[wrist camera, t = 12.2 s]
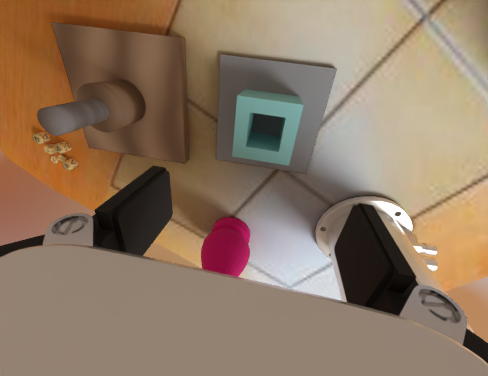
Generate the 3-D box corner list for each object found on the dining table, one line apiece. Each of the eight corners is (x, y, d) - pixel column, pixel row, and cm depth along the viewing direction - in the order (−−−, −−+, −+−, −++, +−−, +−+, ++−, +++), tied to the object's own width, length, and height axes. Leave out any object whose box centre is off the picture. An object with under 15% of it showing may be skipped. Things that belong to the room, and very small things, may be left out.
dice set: (43, 129, 32) (30, 132, 30) (75, 137, 32) (64, 141, 30) (53, 159, 35) (41, 164, 33) (82, 166, 34) (72, 172, 33)
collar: (299, 96, 23) (303, 104, 19) (287, 148, 26) (288, 165, 22) (245, 88, 23) (237, 95, 19) (240, 140, 27) (232, 156, 22)
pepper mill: (208, 213, 34) (135, 361, 18) (252, 215, 33) (220, 376, 16) (213, 245, 38) (158, 393, 21) (253, 248, 37) (229, 407, 20)
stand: (185, 38, 22) (112, 23, 13) (189, 159, 30) (145, 206, 20) (63, 23, 24) (-87, 0, 14) (96, 144, 31) (13, 182, 21)
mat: (335, 68, 22) (337, 68, 21) (305, 172, 28) (306, 174, 28) (221, 54, 23) (220, 54, 22) (217, 157, 29) (216, 159, 29)
